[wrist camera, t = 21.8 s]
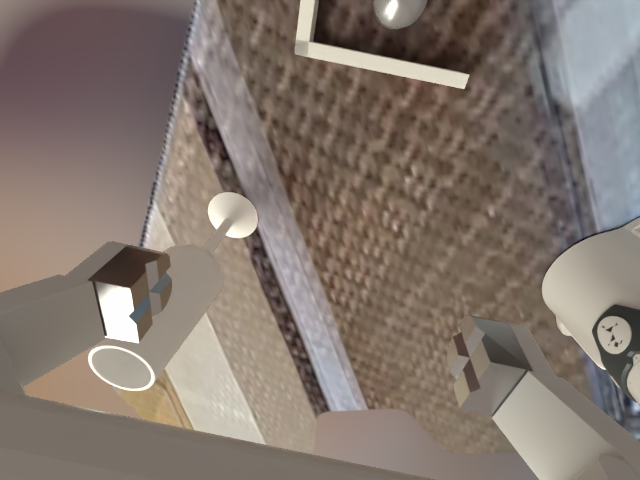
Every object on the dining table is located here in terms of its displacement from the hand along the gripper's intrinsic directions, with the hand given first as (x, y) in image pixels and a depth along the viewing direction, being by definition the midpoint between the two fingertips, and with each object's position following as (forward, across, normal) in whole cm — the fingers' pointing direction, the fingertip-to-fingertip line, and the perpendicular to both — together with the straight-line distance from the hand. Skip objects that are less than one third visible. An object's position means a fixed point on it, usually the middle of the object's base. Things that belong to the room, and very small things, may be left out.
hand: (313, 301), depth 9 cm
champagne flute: (+31, +12, +16) cm, 37 cm away
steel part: (+31, -2, -9) cm, 33 cm away
